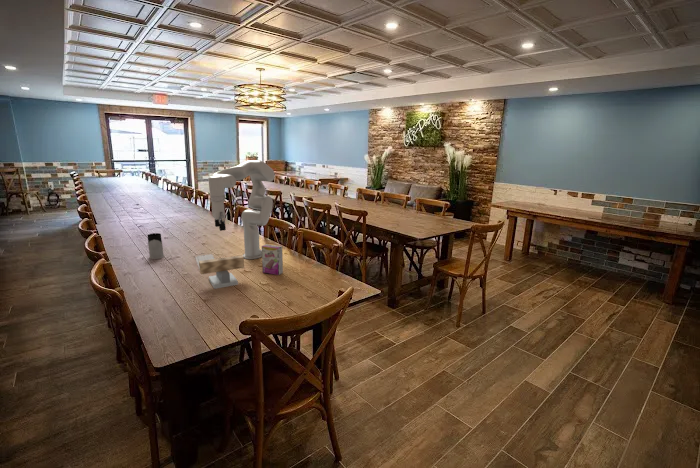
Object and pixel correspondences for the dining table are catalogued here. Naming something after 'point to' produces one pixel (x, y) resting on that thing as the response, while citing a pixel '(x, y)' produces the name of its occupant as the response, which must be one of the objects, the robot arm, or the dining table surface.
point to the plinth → (217, 282)
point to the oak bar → (221, 264)
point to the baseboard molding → (203, 258)
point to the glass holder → (155, 246)
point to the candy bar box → (272, 259)
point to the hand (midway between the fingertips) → (220, 228)
